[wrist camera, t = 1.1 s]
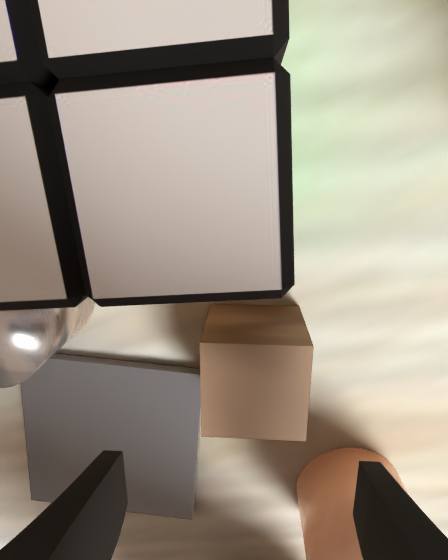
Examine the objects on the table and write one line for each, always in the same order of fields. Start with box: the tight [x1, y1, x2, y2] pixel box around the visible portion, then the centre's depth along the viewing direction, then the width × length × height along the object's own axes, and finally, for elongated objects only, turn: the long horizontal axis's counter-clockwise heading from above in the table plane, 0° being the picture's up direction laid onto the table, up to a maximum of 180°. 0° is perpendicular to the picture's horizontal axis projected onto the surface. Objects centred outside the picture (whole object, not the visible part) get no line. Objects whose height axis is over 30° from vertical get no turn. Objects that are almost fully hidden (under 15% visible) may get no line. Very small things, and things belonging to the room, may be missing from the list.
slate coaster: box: [21, 353, 201, 520], centre depth 22 cm, size 10×10×1 cm
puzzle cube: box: [0, 0, 294, 311], centre depth 12 cm, size 10×10×10 cm
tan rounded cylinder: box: [297, 447, 407, 560], centre depth 19 cm, size 6×6×6 cm
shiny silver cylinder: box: [0, 297, 95, 388], centre depth 17 cm, size 5×5×5 cm
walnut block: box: [200, 304, 313, 441], centre depth 18 cm, size 4×4×4 cm
